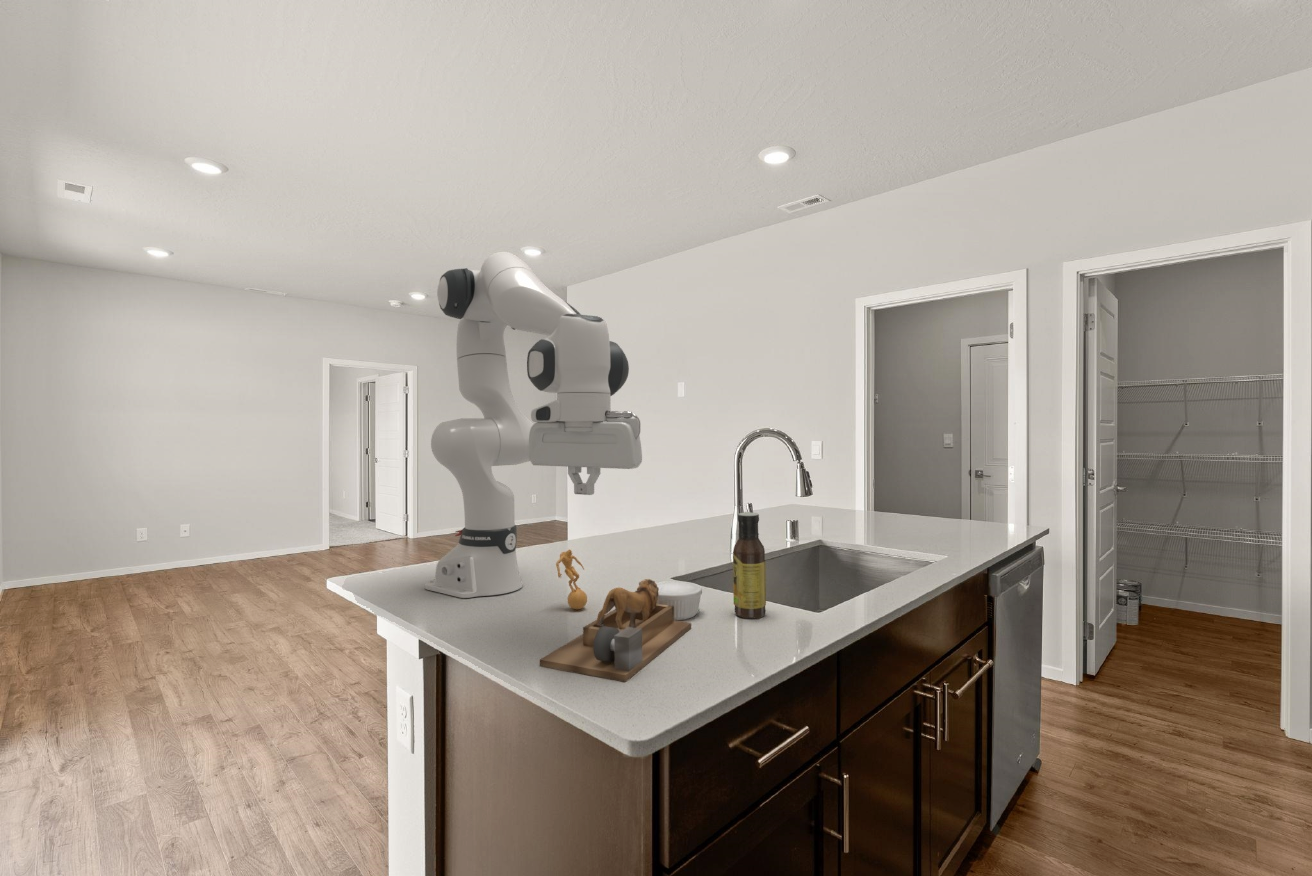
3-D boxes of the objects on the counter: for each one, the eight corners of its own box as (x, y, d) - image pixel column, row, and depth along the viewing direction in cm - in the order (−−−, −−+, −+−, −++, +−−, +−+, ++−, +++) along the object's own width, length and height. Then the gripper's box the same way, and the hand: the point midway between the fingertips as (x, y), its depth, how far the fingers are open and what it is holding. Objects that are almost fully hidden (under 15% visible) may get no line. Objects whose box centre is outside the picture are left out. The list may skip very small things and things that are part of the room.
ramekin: (637, 609, 126) (637, 583, 126) (687, 603, 130) (687, 578, 130) (657, 625, 116) (657, 597, 116) (711, 618, 120) (711, 591, 120)
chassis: (539, 665, 96) (539, 627, 96) (618, 618, 120) (618, 587, 120) (625, 681, 90) (625, 640, 90) (691, 628, 114) (691, 595, 114)
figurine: (573, 616, 122) (572, 554, 121) (548, 611, 124) (548, 552, 124) (597, 605, 129) (596, 547, 129) (573, 601, 132) (572, 544, 132)
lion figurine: (636, 628, 114) (643, 578, 116) (660, 632, 111) (667, 581, 114) (587, 625, 102) (595, 570, 105) (613, 630, 100) (621, 573, 102)
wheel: (593, 664, 94) (593, 631, 93) (609, 653, 98) (609, 622, 98) (613, 668, 92) (613, 634, 92) (628, 656, 97) (628, 624, 97)
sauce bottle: (739, 608, 126) (738, 510, 125) (769, 612, 123) (769, 511, 123) (729, 617, 120) (728, 514, 120) (760, 621, 117) (760, 516, 117)
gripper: (648, 411, 102) (648, 495, 102) (544, 411, 110) (544, 489, 111) (631, 410, 96) (631, 500, 97) (522, 411, 105) (523, 493, 105)
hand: (584, 494), depth 104 cm, fingers closed
